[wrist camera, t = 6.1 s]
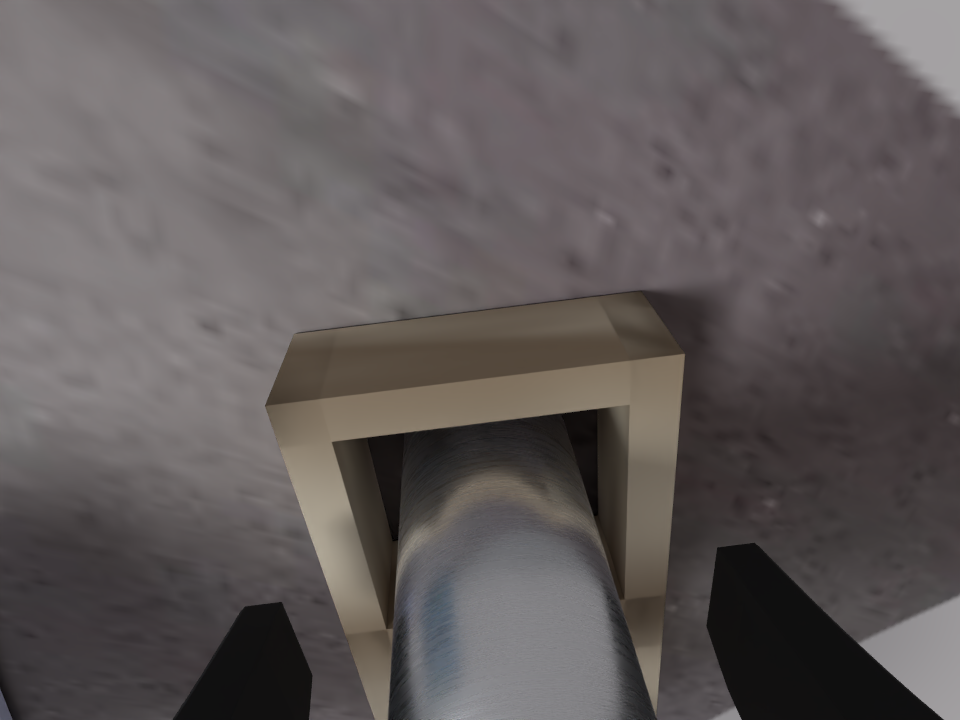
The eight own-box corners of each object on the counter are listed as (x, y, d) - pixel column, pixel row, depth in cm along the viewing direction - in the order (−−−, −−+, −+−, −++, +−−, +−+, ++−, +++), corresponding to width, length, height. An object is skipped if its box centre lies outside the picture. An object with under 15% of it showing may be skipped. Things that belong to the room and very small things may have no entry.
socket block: (627, 690, 20) (696, 939, 14) (408, 718, 20) (400, 977, 14) (641, 291, 12) (790, 504, 7) (294, 333, 12) (194, 578, 7)
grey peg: (556, 490, 15) (662, 909, 8) (408, 496, 15) (388, 933, 8) (569, 364, 13) (722, 770, 6) (400, 368, 13) (366, 793, 6)
